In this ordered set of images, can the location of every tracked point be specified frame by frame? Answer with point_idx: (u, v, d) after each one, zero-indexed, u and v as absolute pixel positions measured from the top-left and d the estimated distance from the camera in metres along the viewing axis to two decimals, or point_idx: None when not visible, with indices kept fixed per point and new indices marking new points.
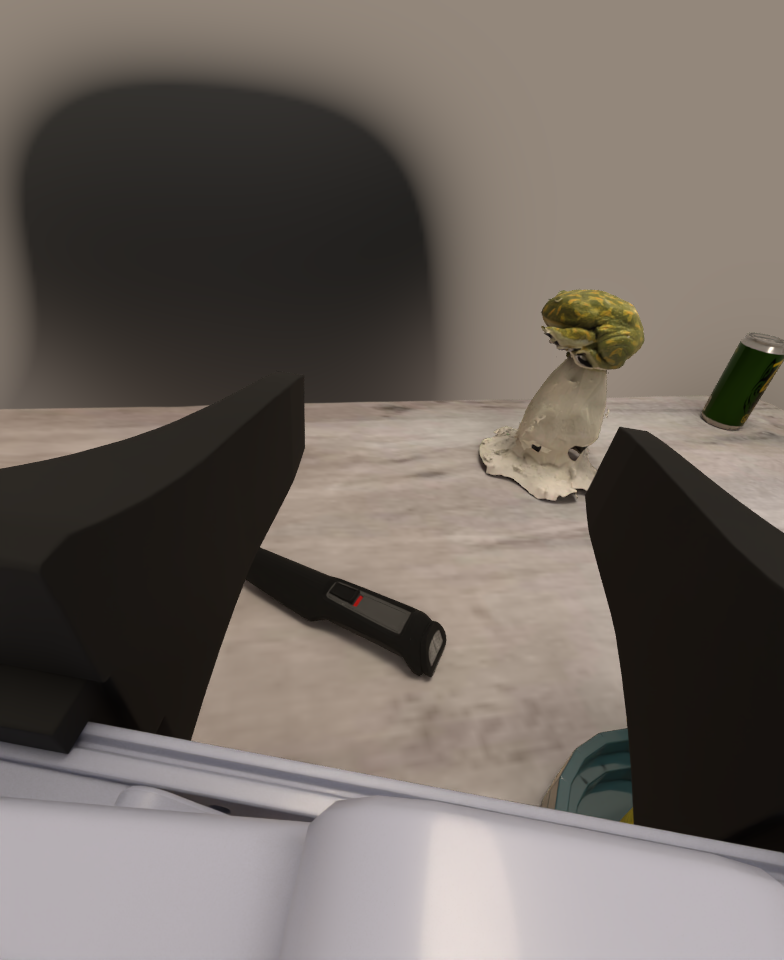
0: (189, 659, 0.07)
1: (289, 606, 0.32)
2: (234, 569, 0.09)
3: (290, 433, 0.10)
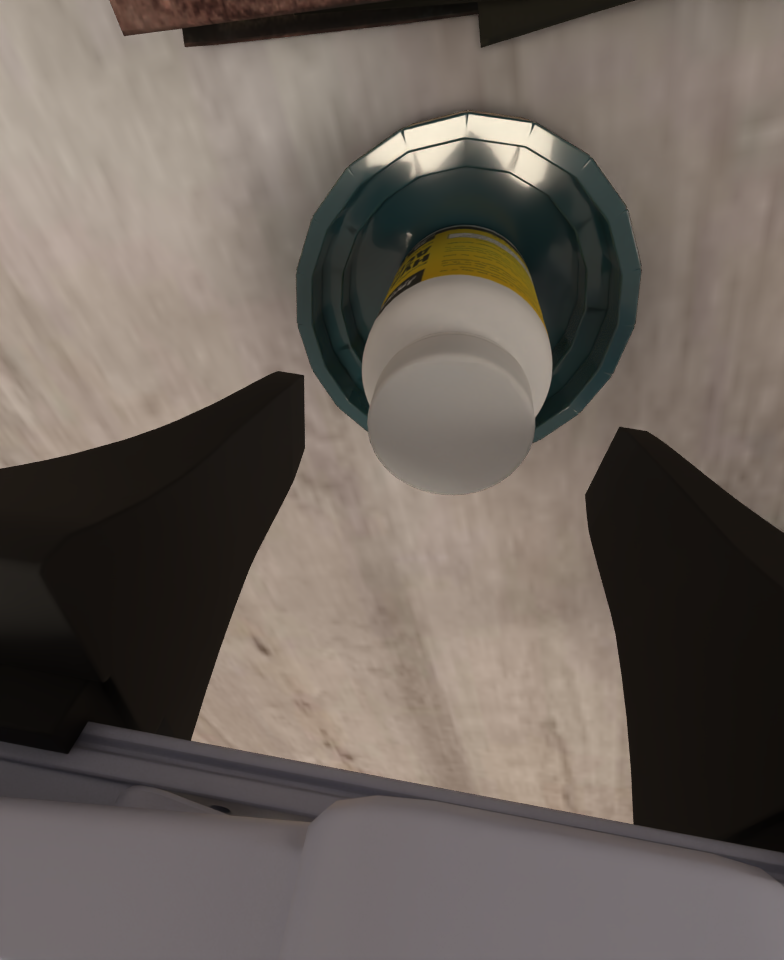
0: (189, 659, 0.07)
1: None
2: (234, 569, 0.09)
3: (290, 433, 0.10)
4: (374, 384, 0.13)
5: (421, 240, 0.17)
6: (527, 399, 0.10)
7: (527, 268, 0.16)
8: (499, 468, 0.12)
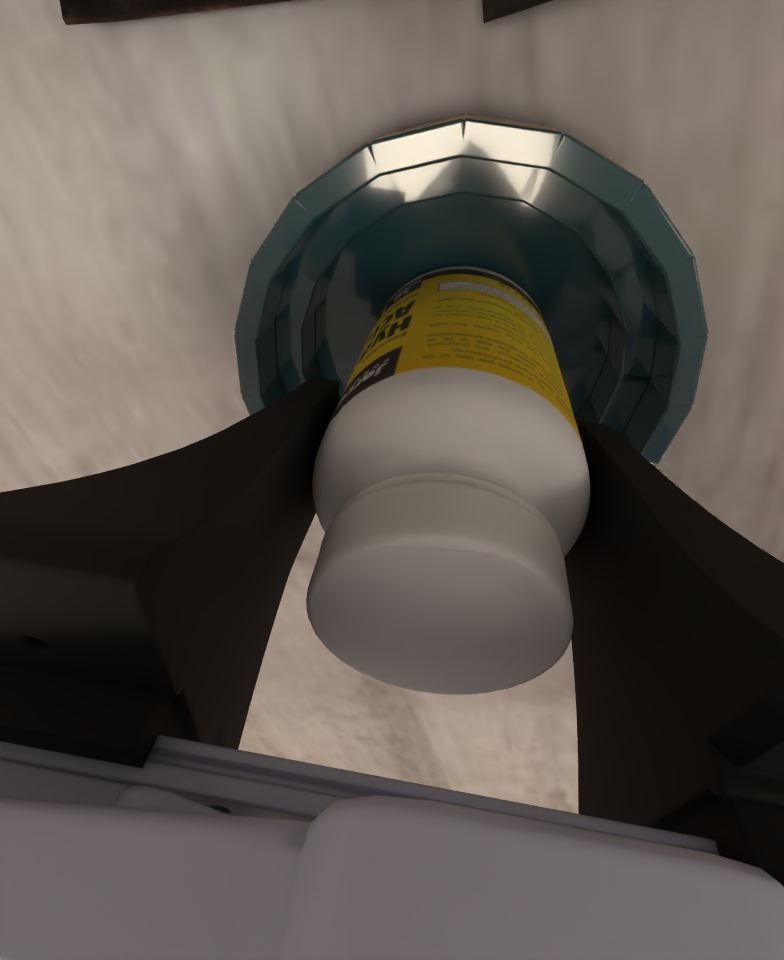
0: (240, 668, 0.07)
1: None
2: (277, 577, 0.09)
3: None
4: (328, 516, 0.09)
5: (404, 285, 0.13)
6: (563, 599, 0.06)
7: (545, 325, 0.12)
8: (513, 673, 0.07)
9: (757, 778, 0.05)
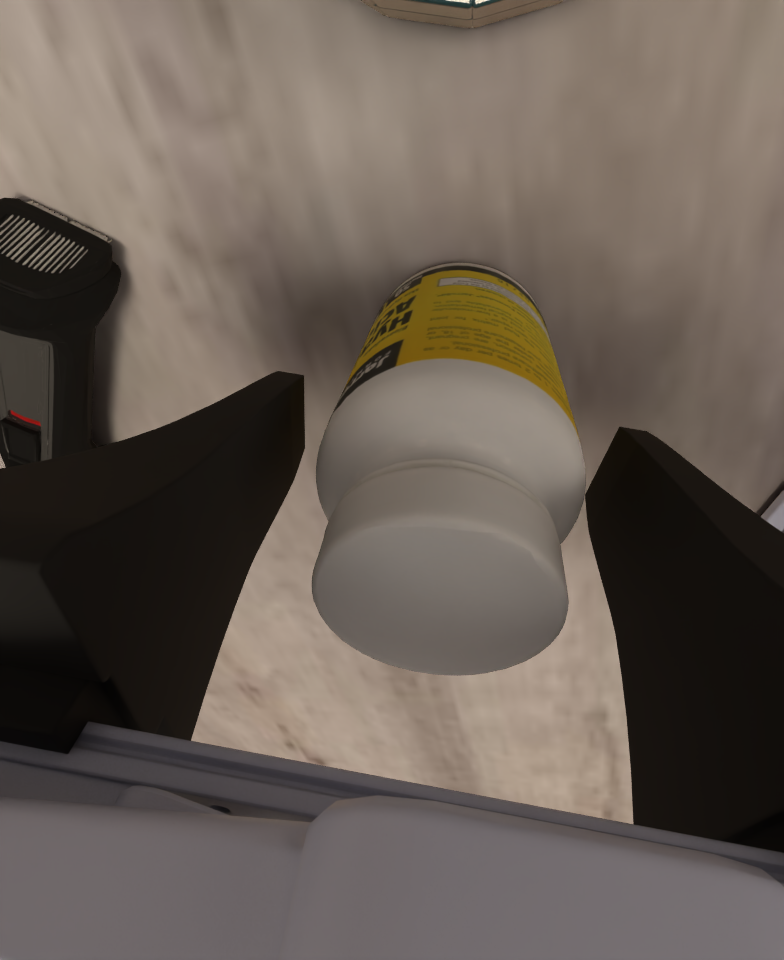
0: (189, 659, 0.07)
1: None
2: (234, 569, 0.09)
3: (290, 433, 0.10)
4: (332, 504, 0.09)
5: (405, 281, 0.13)
6: (558, 578, 0.06)
7: (542, 320, 0.12)
8: (511, 653, 0.08)
9: None
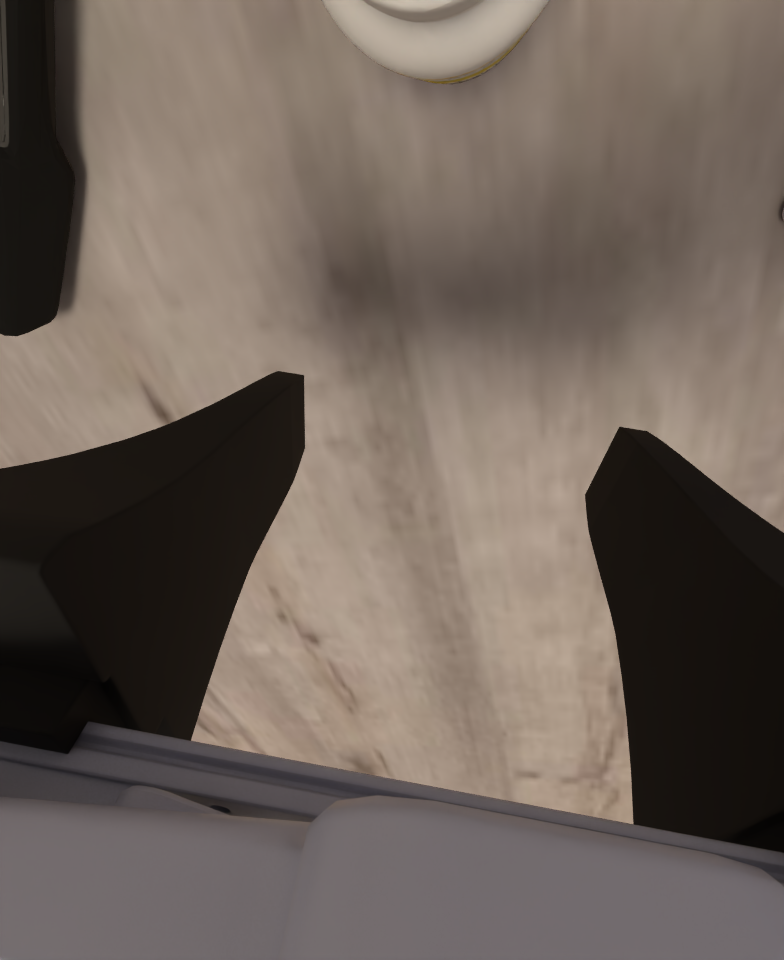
0: (189, 659, 0.07)
1: (66, 221, 0.18)
2: (234, 569, 0.09)
3: (290, 433, 0.10)
4: None
5: None
6: None
7: None
8: None
9: None
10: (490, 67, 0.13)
